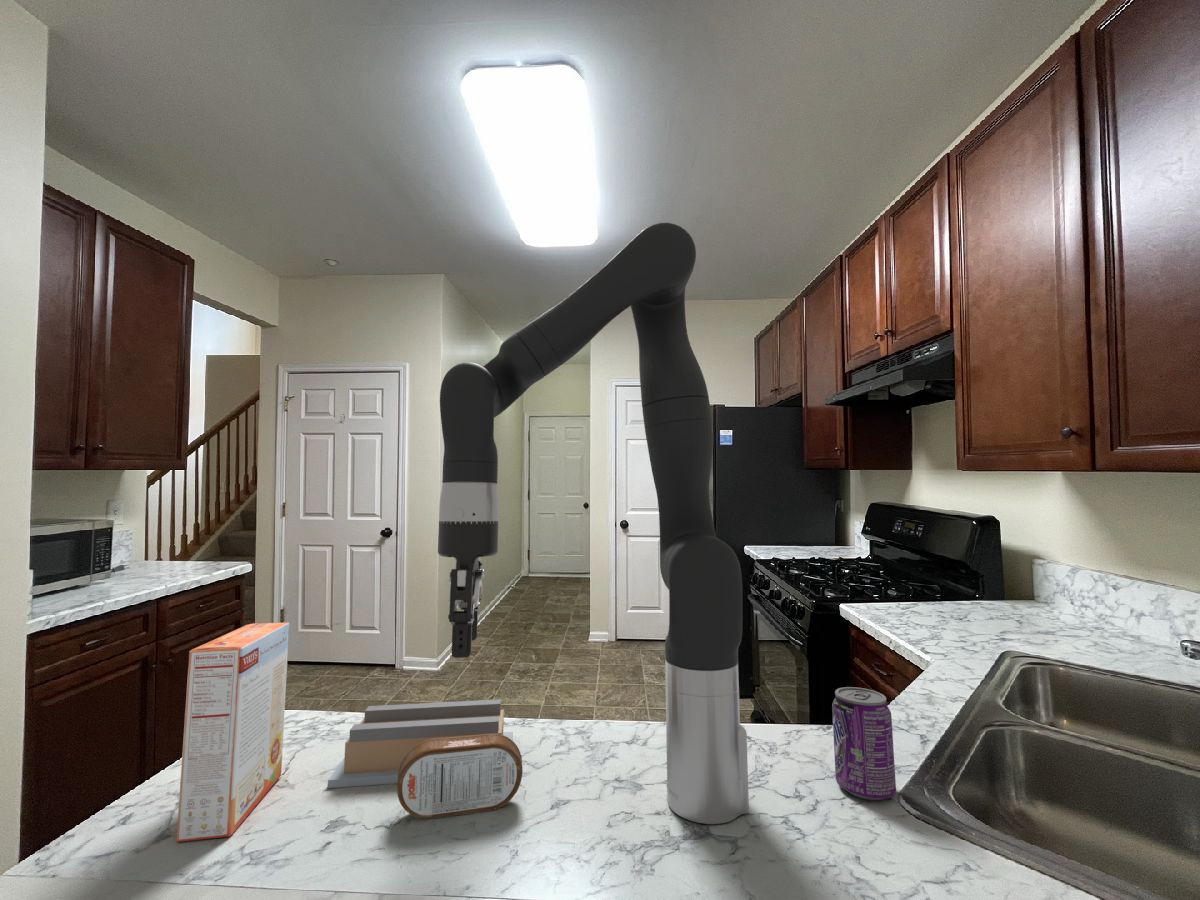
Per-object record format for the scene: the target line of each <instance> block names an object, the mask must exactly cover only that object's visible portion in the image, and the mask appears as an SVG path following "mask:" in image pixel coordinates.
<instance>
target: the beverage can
mask: <svg viewBox="0 0 1200 900" xmlns="http://www.w3.org/2000/svg"><path fill="white" fill-rule="evenodd" d="M834 695H835V697H834V699H833V701H832V703H831V704H832V706H831V709H832V710H831V712H832V728H833V729H832V730H833V751H834V753H833V754H834V769H835V770H834V773H835V775H834V776H835V781H836V783H837V785H838V786H840V788H842V789H843V790H845V791H847V792H848V793H849V794H851V795H853V796H855V797H857V798H859V799H863V800H868V801H881V800H885V799H889V798H892V797H894V796H895V795H896V793H897V784H896V783H897V781H896V768H895V767H896V766H895V752H894V751H895V750H894V737H893V736H894V734H893V721H892V720H893V719H892V712H891V710H890V708H889V706H888V704H887V697H886V696H885V695H884V694H883V693H880V692H878V691H876V690H872V689H868V688H864V687H863V688H862V687H854V686H853V687H852V686H845V687H838V688H837V689H835V691H834Z"/></svg>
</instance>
